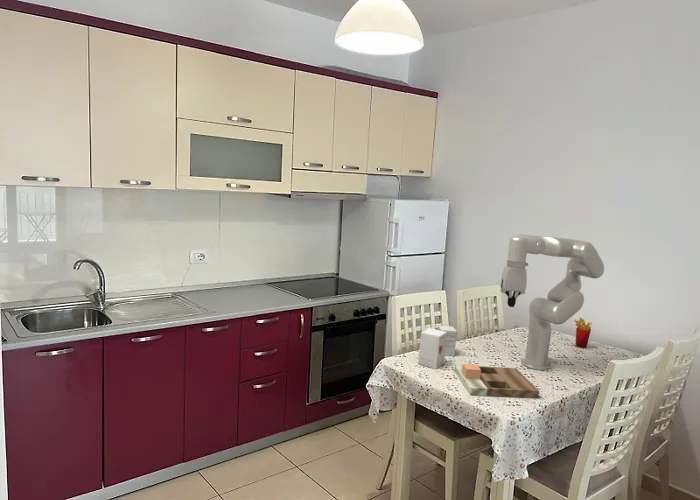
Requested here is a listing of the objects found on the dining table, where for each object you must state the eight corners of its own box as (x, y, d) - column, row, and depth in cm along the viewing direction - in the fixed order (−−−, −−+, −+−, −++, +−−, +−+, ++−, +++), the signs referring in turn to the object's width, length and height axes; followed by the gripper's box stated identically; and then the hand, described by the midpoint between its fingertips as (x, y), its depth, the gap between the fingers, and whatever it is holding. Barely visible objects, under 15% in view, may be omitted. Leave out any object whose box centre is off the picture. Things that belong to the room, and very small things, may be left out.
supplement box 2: (435, 350, 249) (438, 325, 247) (450, 351, 250) (453, 326, 248) (439, 356, 242) (441, 330, 240) (454, 356, 243) (457, 330, 241)
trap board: (515, 374, 225) (516, 368, 224) (538, 398, 201) (539, 391, 201) (454, 371, 223) (454, 365, 223) (470, 395, 199) (470, 387, 199)
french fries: (589, 346, 274) (593, 319, 272) (586, 350, 267) (590, 322, 265) (571, 342, 278) (575, 315, 276) (568, 346, 272) (572, 318, 269)
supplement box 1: (436, 369, 224) (439, 336, 222) (417, 364, 229) (420, 331, 227) (444, 364, 232) (447, 331, 230) (425, 359, 237) (428, 327, 235)
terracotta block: (475, 373, 214) (476, 364, 214) (479, 379, 208) (481, 369, 208) (461, 372, 214) (462, 363, 213) (465, 378, 208) (466, 369, 208)
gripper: (529, 264, 227) (524, 305, 230) (496, 262, 226) (491, 303, 229) (536, 267, 220) (531, 309, 222) (502, 265, 219) (497, 307, 221)
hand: (511, 306), depth 225 cm, fingers closed
